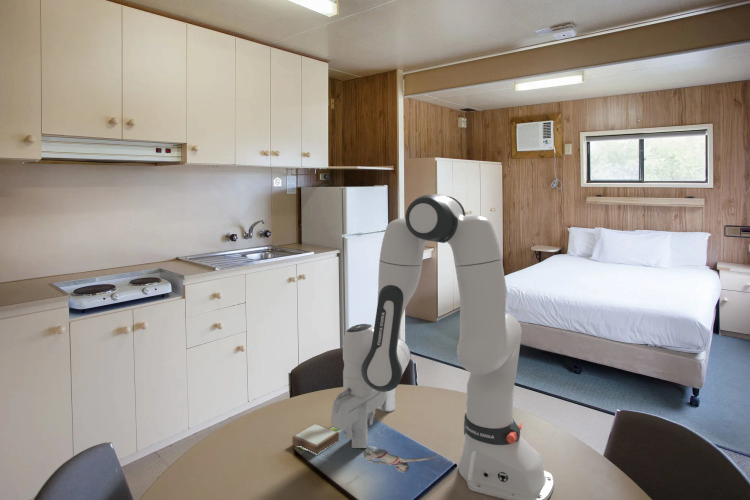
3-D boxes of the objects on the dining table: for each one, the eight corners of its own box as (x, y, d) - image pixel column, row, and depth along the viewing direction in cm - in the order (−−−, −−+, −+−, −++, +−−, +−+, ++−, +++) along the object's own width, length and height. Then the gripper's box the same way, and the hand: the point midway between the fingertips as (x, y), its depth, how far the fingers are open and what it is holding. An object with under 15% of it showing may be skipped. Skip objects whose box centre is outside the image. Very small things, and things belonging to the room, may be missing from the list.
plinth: (338, 442, 131) (338, 431, 131) (316, 457, 124) (316, 446, 124) (315, 432, 136) (314, 422, 136) (292, 446, 129) (292, 435, 129)
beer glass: (397, 403, 154) (398, 359, 152) (396, 413, 147) (396, 367, 145) (376, 402, 155) (376, 358, 153) (374, 412, 148) (374, 366, 146)
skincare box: (352, 437, 133) (352, 397, 131) (367, 437, 133) (367, 397, 131) (351, 449, 127) (350, 407, 125) (366, 449, 127) (366, 407, 125)
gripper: (344, 399, 118) (344, 451, 119) (389, 374, 134) (389, 419, 136) (325, 393, 121) (326, 443, 123) (371, 369, 138) (372, 413, 139)
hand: (359, 430), depth 129 cm, fingers closed on skincare box, 7 cm apart
